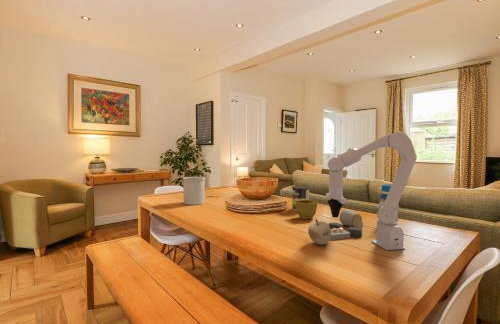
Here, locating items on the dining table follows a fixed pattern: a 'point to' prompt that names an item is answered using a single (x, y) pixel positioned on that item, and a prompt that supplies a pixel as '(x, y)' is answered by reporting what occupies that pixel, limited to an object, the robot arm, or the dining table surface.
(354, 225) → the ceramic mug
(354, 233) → the cord coil
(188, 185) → the utensil holder
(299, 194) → the coffee can
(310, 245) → the dining table surface
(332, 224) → the cord coil
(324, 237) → the decorative object
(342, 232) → the grey egg carton
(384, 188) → the beverage bottle
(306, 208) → the flower pot
